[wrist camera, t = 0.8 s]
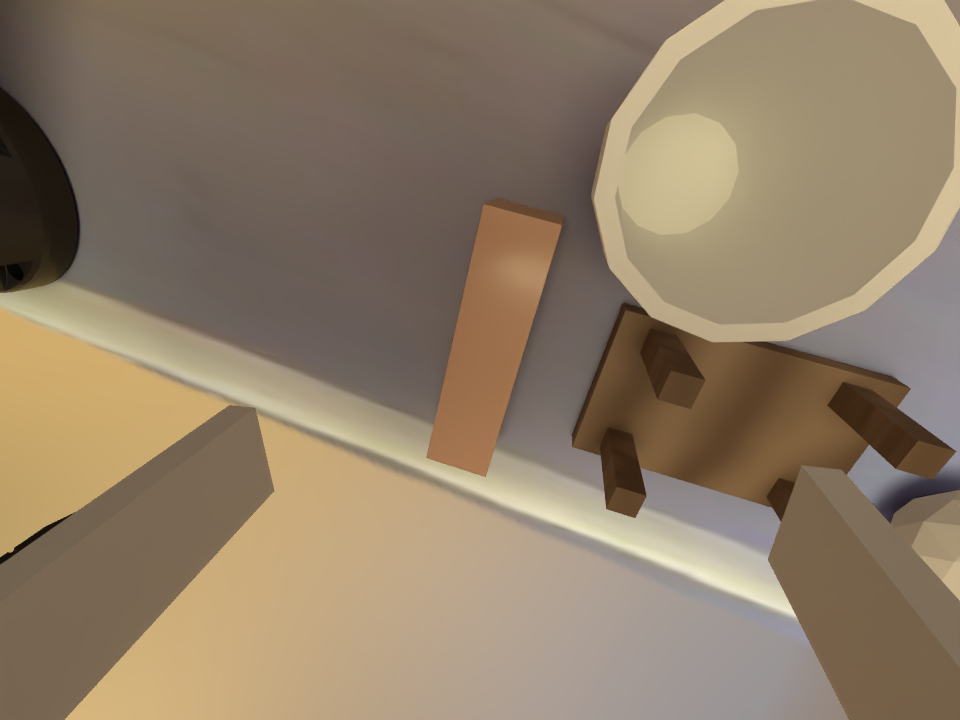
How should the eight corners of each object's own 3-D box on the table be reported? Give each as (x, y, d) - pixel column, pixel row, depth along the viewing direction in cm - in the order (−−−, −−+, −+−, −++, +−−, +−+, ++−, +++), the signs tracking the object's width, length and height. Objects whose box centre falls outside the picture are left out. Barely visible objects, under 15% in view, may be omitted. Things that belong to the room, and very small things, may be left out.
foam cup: (808, 181, 23) (1060, 193, 11) (654, 296, 26) (719, 397, 15) (698, 27, 21) (854, -149, 9) (550, 173, 25) (530, 175, 13)
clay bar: (497, 434, 33) (485, 476, 28) (446, 418, 33) (426, 457, 28) (564, 215, 26) (562, 225, 21) (498, 198, 26) (483, 203, 22)
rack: (572, 434, 31) (572, 508, 24) (623, 303, 27) (639, 347, 20) (801, 504, 30) (868, 601, 23) (893, 377, 26) (1007, 451, 19)
